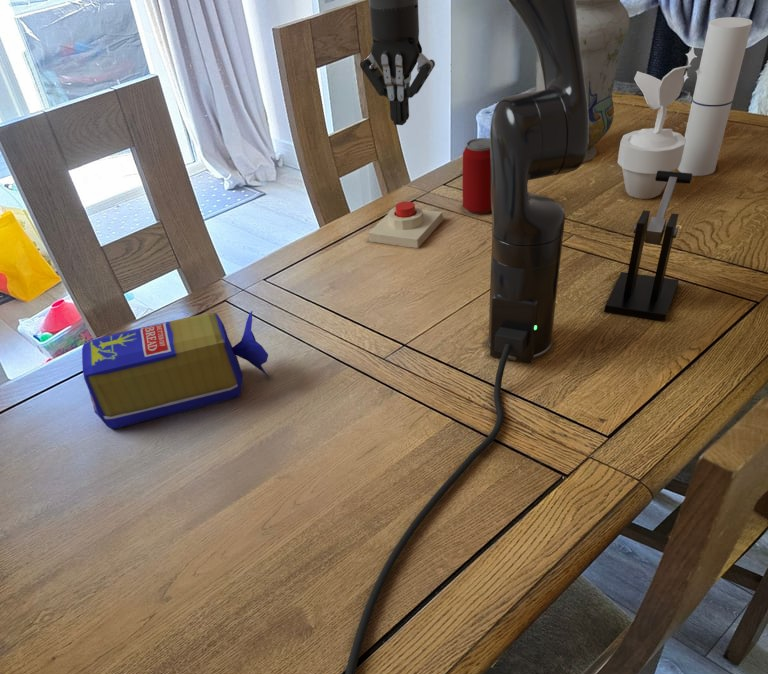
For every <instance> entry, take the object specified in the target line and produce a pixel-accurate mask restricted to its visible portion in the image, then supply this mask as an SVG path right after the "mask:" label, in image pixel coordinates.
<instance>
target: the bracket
mask: <svg viewBox="0 0 768 674" xmlns="http://www.w3.org/2000/svg"><path fill="white" fill-rule="evenodd" d="M650 213H651V210H645V209H644V210H642V212H641V214H640V216H639V217H638V219H637V221H636V222H635V223H634V226H633V231H632V233H633V234H634V236H633V243H632V248H631V253H630V257H629V258H630V259H629V265H628V270H627V272H626V271H621V272H620V273H619V276H618V278H617V280H616V282H615V284H614V286H613V288H612V290H611V292H610V295H609V297H608V299H607V300H606V304H605V305H604V311H603V312H604V313H609V314H613V315H614V314H615V315H621V316H625V317H626V316H627V317H633V318H639V319H645V320H651V321H658V322H666V319H667V316H668V313H669V310H670V308H671V305H672V303H673V300H674V297H675V294H676V292H677V289H678V286H679V282H680V279H675V278H669V277H665V276H666V273H667V267H668V264H669V259H670V255H671V250H672V246H673V242H674V239H676V238H677V236H678V233H679V228H678V227H677V223H678V220H679V215H680V214H679V213H671V214H670V216H669V218H668V221H667V222H666V225H665V231H664V234H663V237H662V241H661V247H660V252H659V257H658V262H657V266H656V270H655V275H647V274H641V273H639V270H640V265H641V261H642V255H643V250H644V245H645V236H646V230H647V227H648V224H649V221H650Z"/></svg>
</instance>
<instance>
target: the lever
mask: <svg viewBox="0 0 768 674" xmlns="http://www.w3.org/2000/svg"><path fill="white" fill-rule="evenodd" d="M692 178H693V176H692V173H681V172H680V171H673V172H670V171H657V174H656V179H655V181H662V182H667V183H666V185H665V189H664V190H663V191H664V192H663V194H662V197H661V200H660V203H659V206H658V208H657V212H656V215H655V216H650V217H649V220H648V225H647V230H646V235H645V240H644V244H651V245H657V246H658V245H661V244H662V241H663V238H664V233H665V229H666V225H667V217H666V214H667V212H668V208H669V206H670V202H671V200H672V197H673V194H674V190H675V187H676V185H677V184H685V185H690V184H691V182H692Z"/></svg>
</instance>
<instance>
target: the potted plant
mask: <svg viewBox="0 0 768 674" xmlns="http://www.w3.org/2000/svg"><path fill="white" fill-rule="evenodd" d="M685 55H686V57H687V62H688V63H687V65H684V66H678V67H675V68H672V69H671V71H669V72H668V73H667V74H665V75H664V76H663V77H662V79H659V78H657V77H655V76H653V75H650V74H648V73H644V72H641V71H638V70H637V71H636V74H635V75H634V77H633V80H634V82H635V84H636V85H637V87H638V88H639V89H640V91H641V93H642V94H643V97H644V99H645V102H646V104H647V106H648V107H650V109H652V110H653V111H654V110H657V114H656V120H655V123H654V127H652V128H651V127H650V128H641V129H637V130H633V131H631V132H627V133H626V134H624V135H623V136H622V138H621V139H620V143H619V144H620V145H619V148H618V155H617V164H618V165H619V166H620V167H621V168H622V169H621V170H622V175H623V176H622V177H623V182H624V189H625V192H626V194H627V195H628V196H630V197H631V198H634V199H639V200H648V199H649V200H650V199H653V198H655V197H658V196H660V195H661V194H662V192H663V191H664V188H665V187H666V185H667V183H668V182H662V181H655V179H656V174H657V171H670V172H674V170H676V169H678V167H679V166H680V163H681V160H682V155H683V151H684V146H685V141H686V138H685V136H683V135H682V134H681V132H677V131H673V128H663V127H664V124H665V121H666V117H667V113H668V111H667V110H668V109H667V106H669V105H672V104H673V103H674V102H675V101H676V100H677V99H678V98H679V97H680V95H681V93H682V89H683V87H684V83H685V82H686V80H687V79H689V78H690V77H689V76H688V71H686V69H689V68H691V67H692V64H691V63H692V61H693V59H694V58H698V55H696V54H695V43H692V47H691V49H690V50H689V52H688V53H685ZM685 71H686V72H685ZM695 72H696V78H697V77H698V75H699V73H701V72H702V71H701V70H700V66H699V67H698V68H697V69H696V70H695Z"/></svg>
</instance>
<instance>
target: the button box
mask: <svg viewBox="0 0 768 674" xmlns="http://www.w3.org/2000/svg"><path fill="white" fill-rule="evenodd" d="M443 217H444V216H443V211H437V210H430V209H423V208H421V207H419V206H416V205H415V215H414V216H411V217H406V218H401V217H397V216H396V207H395V206H394V207H393V208H391V209H390V210H389V211H388V212H387V214H386V215H385V216H384V217H383V218H382V219H381V220H379V222H378V223H377V224H376V225H374V227H373V228H372V229H370V231H369V232H368V241H369V242H370V243H376V244H377V243H379V244H384V245H390V246H391V245H392V246H399V247H405V248H406V247H407V248H411V249H412V248H414V249H419V248H420V247H421V246H422V244H423V243H425V241H426V240H427V239H428V238H429V236H431V234H432V233H434V231H435V230H436V229H437V228H438V226H439V225H440V224H441V223H442V222H443V220H444V219H443Z"/></svg>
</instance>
